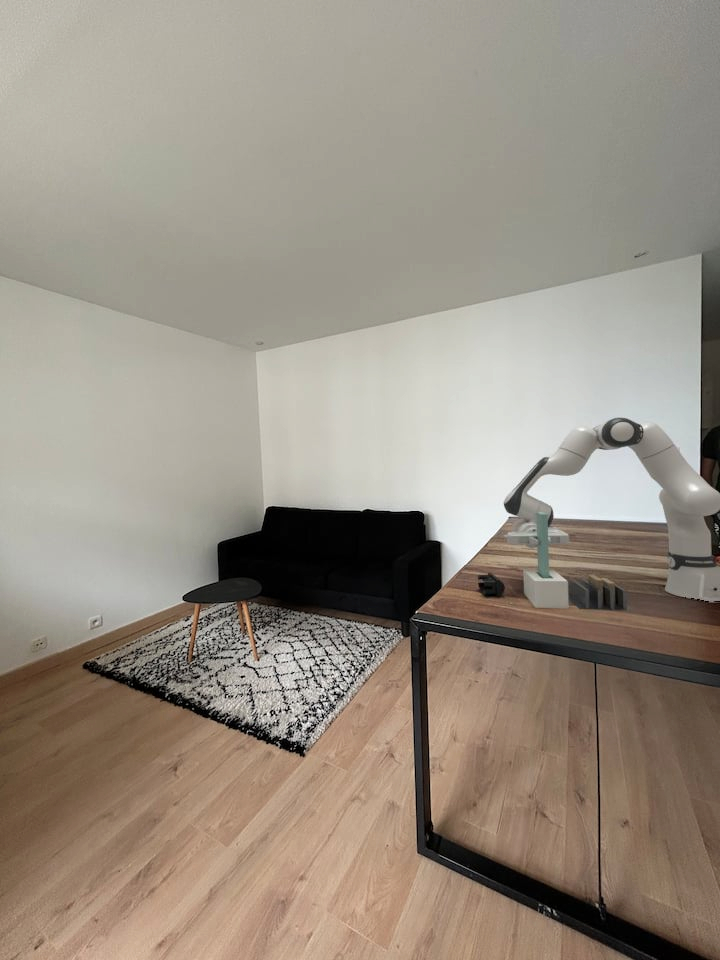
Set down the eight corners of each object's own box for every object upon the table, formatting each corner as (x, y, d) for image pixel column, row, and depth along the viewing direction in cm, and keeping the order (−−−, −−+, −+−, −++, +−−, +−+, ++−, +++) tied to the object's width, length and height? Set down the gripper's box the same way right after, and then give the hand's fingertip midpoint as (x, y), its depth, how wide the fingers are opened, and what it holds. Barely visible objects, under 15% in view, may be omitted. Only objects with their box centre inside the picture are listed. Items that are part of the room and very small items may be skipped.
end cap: (505, 598, 133) (504, 579, 133) (485, 598, 133) (485, 580, 133) (496, 589, 143) (495, 572, 143) (478, 589, 143) (477, 572, 143)
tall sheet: (543, 580, 128) (541, 512, 127) (549, 585, 122) (547, 514, 122) (538, 580, 128) (536, 512, 128) (543, 585, 122) (541, 514, 122)
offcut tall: (594, 598, 125) (594, 575, 125) (603, 604, 119) (602, 580, 119) (589, 598, 125) (588, 575, 125) (597, 604, 120) (596, 580, 119)
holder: (553, 597, 131) (552, 569, 131) (568, 611, 117) (567, 581, 117) (524, 596, 133) (523, 569, 133) (535, 611, 119) (534, 580, 119)
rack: (611, 597, 128) (610, 577, 128) (635, 614, 114) (634, 591, 113) (562, 596, 131) (561, 576, 131) (579, 612, 116) (578, 590, 116)
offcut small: (606, 598, 124) (605, 578, 124) (615, 604, 119) (614, 583, 118) (600, 598, 125) (599, 578, 125) (609, 604, 119) (608, 583, 119)
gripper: (502, 527, 139) (510, 533, 126) (560, 526, 136) (575, 533, 122) (503, 543, 139) (511, 551, 126) (560, 543, 136) (575, 551, 122)
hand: (543, 542), depth 124 cm, fingers closed on tall sheet, 2 cm apart
